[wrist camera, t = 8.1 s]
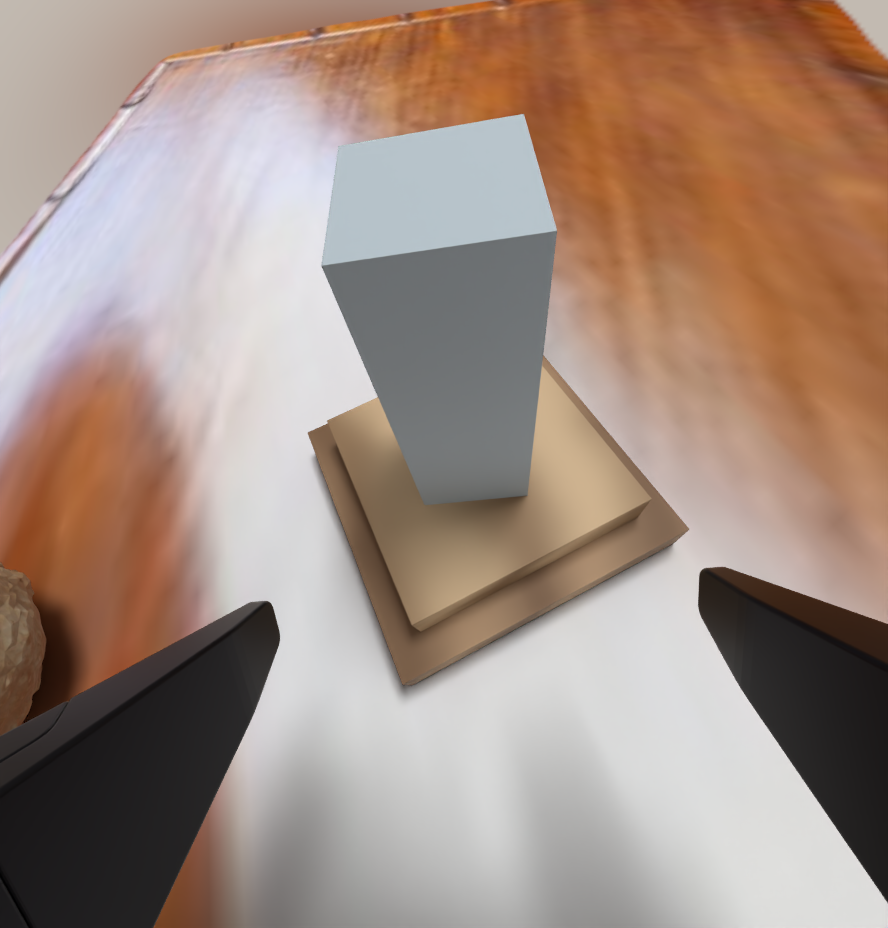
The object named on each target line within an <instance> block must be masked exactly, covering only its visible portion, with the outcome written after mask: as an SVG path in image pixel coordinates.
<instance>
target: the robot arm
mask: <svg viewBox="0 0 888 928" xmlns="http://www.w3.org/2000/svg"><path fill="white" fill-rule="evenodd" d="M698 607H699V612H700V615H701V617H702V619H703V621H704V623H705V625H706V627H707V629H708V630H709V632H710V634H711V636H712V638H713V639H714V641H715V643H716V645H717V647H718V649H719V650H720V652H721V654H722V656H723V658H724V660H725V661H726V663H727V665H728V667H729V669H730V670H731V672H732V674H733V676H734V678H735V679H736V681H737V683H738V684H739V686H740V688H741V689H742V691H743V692H744V694H745V695H746V697H747V699H748V700H749V702H750V703H751V704H752V706H753V707H754V709H755V710H756V712H757V713H758V715H759V716H760V718H761V719H762V720H763V722H764V723H765V725H766V726H767V728H768V729H769V731H770V732H771V734H772V735H773V736H774V738H775V739H776V741H777V742H778V744H779V745H780V747H781V748H782V750H783V751H784V753H785V754H786V755H787V757H788V758H789V760H790V761H791V763H792V764H793V766H794V767H795V769H796V770H797V771H798V773H799V774H800V776H801V777H802V779H803V780H804V782H805V783H806V785H807V786H808V787H809V789H810V790H811V792H812V793H813V795H814V796H815V798H816V799H817V801H818V802H819V803H820V805H821V806H822V808H823V809H824V811H825V812H826V814H827V815H828V817H829V818H830V820H831V821H832V822H833V824H834V825H835V827H836V828H837V830H838V831H839V833H840V834H841V836H842V837H843V838H844V840H845V841H846V843H847V844H848V846H849V847H850V849H851V850H852V852H853V853H854V854H855V856H856V857H857V859H858V860H859V862H860V863H861V865H862V866H863V868H864V869H865V870H866V872H867V873H868V875H869V876H870V878H871V879H872V881H873V882H874V884H875V885H876V887H877V888H878V889H879V891H880V892H881V894H882V895H883V897H884V898H885V900H886V901H887V903H888V624H886V623H883V622H880V621H878V620H875V619H872V618H869V617H866V616H863V615H860V614H858V613H855V612H852V611H849V610H846V609H843V608H840V607H838V606H835V605H832V604H829V603H826V602H823V601H820V600H818V599H815V598H812V597H809V596H806V595H803V594H800V593H798V592H795V591H792V590H789V589H786V588H783V587H780V586H778V585H775V584H772V583H769V582H766V581H763V580H760V579H758V578H755V577H752V576H749V575H746V574H743V573H740V572H738V571H735V570H732V569H729V568H726V567H713V568H704V569H703V570H702V571H701V572H700V576H699V597H698ZM279 642H280V633H279V628H278V625H277V621H276V617H275V613H274V609H273V606H272V604H271V603H270V602H268V601H258V602H250V603H248V604H246V605H244V606H242V607H241V608H239V609H237V610H235V611H233V612H231V613H229V614H227V615H226V616H224V617H222V618H220V619H218V620H216V621H214V622H213V623H211V624H209V625H207V626H205V627H203V628H201V629H200V630H198V631H196V632H194V633H192V634H190V635H188V636H186V637H185V638H183V639H181V640H179V641H177V642H175V643H173V644H172V645H170V646H168V647H166V648H164V649H162V650H160V651H159V652H157V653H155V654H153V655H151V656H149V657H147V658H145V659H144V660H142V661H140V662H138V663H136V664H134V665H132V666H131V667H129V668H127V669H125V670H123V671H121V672H119V673H118V674H116V675H114V676H112V677H110V678H108V679H106V680H104V681H103V682H101V683H99V684H97V685H95V686H93V687H91V688H90V689H88V690H86V691H84V692H82V693H80V694H78V695H77V696H75V697H73V698H71V699H70V701H69V702H68V701H66V702H63V703H61V704H60V705H58V706H56V707H54V708H52V709H50V710H48V711H47V712H45V713H43V714H41V715H39V716H37V717H35V718H33V719H31V720H29V721H28V722H26V723H24V724H22V725H20V726H18V727H16V728H14V729H12V730H10V731H9V732H7V733H5V734H3V735H1V736H0V928H153V927H154V925H155V923H156V921H157V919H158V916H159V914H160V912H161V910H162V908H163V906H164V904H165V902H166V899H167V897H168V895H169V893H170V891H171V889H172V887H173V885H174V882H175V880H176V878H177V876H178V874H179V872H180V870H181V868H182V865H183V863H184V861H185V859H186V857H187V855H188V853H189V851H190V849H191V846H192V844H193V842H194V840H195V838H196V836H197V834H198V832H199V829H200V827H201V825H202V823H203V821H204V819H205V817H206V815H207V812H208V810H209V808H210V806H211V804H212V802H213V800H214V798H215V795H216V793H217V791H218V789H219V787H220V785H221V783H222V781H223V778H224V776H225V774H226V772H227V770H228V768H229V766H230V764H231V762H232V759H233V757H234V755H235V753H236V751H237V749H238V747H239V745H240V742H241V740H242V738H243V736H244V734H245V732H246V730H247V728H248V725H249V723H250V721H251V719H252V716H253V714H254V712H255V709H256V707H257V704H258V702H259V699H260V696H261V694H262V691H263V688H264V685H265V682H266V680H267V677H268V674H269V671H270V668H271V666H272V663H273V660H274V657H275V654H276V652H277V649H278V646H279Z"/></svg>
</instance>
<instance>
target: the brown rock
mask: <svg viewBox="0 0 888 928" xmlns="http://www.w3.org/2000/svg"><path fill="white" fill-rule="evenodd" d="M33 594H34V592H33V590H32V587H31V582H30V580H29V579H28V578H27V577H26V575H25V574H24V573H21V572H18V571H16V570H10V569H4V567H3V565H2V563H0V736H1V735H3V734H5V733H7V732H9V731H10V730H12V729H14V728H16V727H18V726H20V725H21V724H22V723H23V721H24V719H25V718H26V716H27V714H28V713H29V710H30V708H31V705H32V695H33V694H34V693H35V692H36V691H37V690H39V687H40V683H41V672H42V661H43V659H44V654H45V647H46V637H45V634H44V631H43V628H42V625H41V619H40V613H39V611H38V608H37V607H36V606H35V605H34V603H33V600H32V596H33Z"/></svg>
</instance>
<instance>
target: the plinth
mask: <svg viewBox="0 0 888 928" xmlns="http://www.w3.org/2000/svg"><path fill="white" fill-rule="evenodd" d="M327 422H328V424H326V425H323V426H321V427H319V428H317V429H315V430H313V431H310V432H308V435H309V438H310V440H311V443H312V446H313V448H314V451H315V454H316V456H317V459H318V462H319V464H320V467H321V470H322V472H323V475H324V477H325V480H326V483H327V485H328V488H329V491H330V493H331V496H332V499H333V501H334V504H335V507H336V509H337V512H338V515H339V517H340V520H341V523H342V525H343V528H344V531H345V533H346V536H347V539H348V541H349V544H350V547H351V549H352V552H353V554H354V557H355V560H356V562H357V565H358V568H359V570H360V573H361V576H362V578H363V581H364V584H365V586H366V589H367V592H368V594H369V597H370V600H371V602H372V605H373V608H374V610H375V613H376V616H377V618H378V621H379V624H380V626H381V629H382V631H383V634H384V637H385V639H386V642H387V645H388V647H389V650H390V653H391V655H392V658H393V661H394V663H395V666H396V669H397V671H398V674H399V677H400V679H401V682H402V685H414V684H416V683H417V682H419V681H421V680H423V679H425V678H427V677H429V676H430V675H432V674H434V673H436V672H438V671H440V670H441V669H443V668H445V667H447V666H449V665H451V664H452V663H454V662H456V661H458V660H460V659H462V658H464V657H465V656H467V655H469V654H471V653H473V652H475V651H476V650H478V649H480V648H482V647H484V646H486V645H487V644H489V643H491V642H493V641H495V640H497V639H498V638H500V637H502V636H504V635H506V634H508V633H510V632H511V631H513V630H515V629H517V628H519V627H521V626H522V625H524V624H526V623H528V622H530V621H532V620H533V619H535V618H537V617H539V616H541V615H543V614H545V613H546V612H548V611H550V610H552V609H554V608H556V607H557V606H559V605H561V604H563V603H565V602H567V601H568V600H570V599H572V598H574V597H576V596H578V595H579V594H581V593H583V592H585V591H587V590H589V589H591V588H592V587H594V586H596V585H598V584H600V583H602V582H603V581H605V580H607V579H609V578H611V577H613V576H614V575H616V574H618V573H620V572H622V571H624V570H626V569H627V568H629V567H631V566H633V565H635V564H637V563H638V562H640V561H642V560H644V559H646V558H648V557H649V556H651V555H653V554H655V553H657V552H659V551H661V550H662V549H664V548H666V547H668V546H670V545H672V544H673V543H675V542H676V541H677V540H678V539H679V538H680V537H681V536H682V535H684V534H685V533H686V532H687V531H688V530H689V528H688V527H687V526H686V525H685V523H684V522H683V521H682V520H681V519H680V518H679V516H678V515H677V514H676V513H675V512H674V510H673V509H672V508H671V507H670V506H669V504H668V503H667V502H666V501H665V500H664V498H663V497H662V496H661V495H660V494H659V493H658V491H657V490H656V489H655V488H654V487H653V485H652V484H651V483H650V482H649V481H648V479H647V478H646V477H645V476H644V475H643V473H642V472H641V471H640V470H639V469H638V468H637V466H636V465H635V464H634V463H633V462H632V460H631V459H630V458H629V457H628V456H627V454H626V453H625V452H624V451H623V450H622V448H621V447H620V446H619V445H618V444H617V443H616V441H615V440H614V439H613V438H612V437H611V435H610V434H609V433H608V432H607V431H606V429H605V428H604V427H603V426H602V425H601V423H600V422H599V421H598V420H597V419H596V417H595V416H594V415H593V414H592V413H591V412H590V410H589V409H588V408H587V407H586V406H585V404H584V403H583V402H582V401H581V400H580V398H579V397H578V396H577V395H576V394H575V392H574V391H573V390H572V389H571V388H570V387H569V385H568V384H567V383H566V382H565V381H564V379H563V378H562V377H561V376H560V375H559V373H558V372H557V371H556V370H555V369H554V367H553V366H552V365H551V364H550V363H549V362H548V360H547V359H546V358H545V357H544V356H543V361H542V370H541V379H540V388H539V397H538V406H537V415H536V424H535V433H534V442H533V451H532V460H531V469H530V478H529V487H528V496H518V497H507V498H497V499H486V500H475V501H465V502H454V503H443V504H433V505H424V503H423V500H422V498H421V496H420V493H419V491H418V489H417V486H416V484H415V482H414V479H413V477H412V475H411V472H410V470H409V468H408V466H407V463H406V461H405V459H404V456H403V454H402V452H401V449H400V447H399V445H398V442H397V440H396V438H395V435H394V433H393V431H392V428H391V426H390V424H389V421H388V419H387V417H386V414H385V412H384V410H383V407H382V405H381V403H380V400H379V398H375V399H373V400H371V401H369V402H367V403H365V404H362V405H360V406H358V407H356V408H354V409H351V410H349V411H347V412H345V413H343V414H341V415H338V416H336V417H334V418H332V419H330V420H328V421H327Z"/></svg>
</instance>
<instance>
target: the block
mask: <svg viewBox="0 0 888 928" xmlns="http://www.w3.org/2000/svg"><path fill="white" fill-rule="evenodd" d="M556 235H557V229H556V226H555V222H554V219H553V215H552V212H551V208H550V205H549V201H548V198H547V194H546V191H545V187H544V184H543V180H542V177H541V173H540V170H539V166H538V163H537V159H536V156H535V152H534V149H533V145H532V142H531V138H530V135H529V131H528V127H527V124H526V120H525V117H524V114H521V115H515V116H509V117H504V118H498V119H492V120H486V121H481V122H475V123H469V124H463V125H457V126H452V127H446V128H440V129H434V130H429V131H423V132H417V133H411V134H406V135H400V136H394V137H388V138H383V139H377V140H371V141H365V142H359V143H354V144H348V145H342V146H339V147H338V154H337V161H336V168H335V175H334V182H333V189H332V196H331V203H330V210H329V217H328V224H327V230H326V237H325V244H324V251H323V258H322V265H321V266H322V268H323V270H324V273H325V275H326V277H327V280H328V282H329V284H330V287H331V289H332V291H333V294H334V296H335V298H336V301H337V303H338V305H339V308H340V310H341V312H342V314H343V317H344V319H345V321H346V324H347V326H348V328H349V331H350V333H351V335H352V338H353V340H354V342H355V345H356V347H357V349H358V352H359V354H360V356H361V359H362V361H363V363H364V366H365V368H366V370H367V373H368V375H369V377H370V380H371V382H372V384H373V387H374V389H375V391H376V393H377V396H378V398H379V400H380V403H381V405H382V407H383V410H384V412H385V414H386V417H387V419H388V421H389V424H390V426H391V428H392V431H393V433H394V435H395V438H396V440H397V442H398V445H399V447H400V449H401V452H402V454H403V456H404V459H405V461H406V463H407V466H408V468H409V470H410V472H411V475H412V477H413V479H414V482H415V484H416V486H417V489H418V491H419V493H420V496H421V498H422V500H423V503H424V505H433V504H443V503H454V502H465V501H475V500H486V499H497V498H507V497H518V496H528V487H529V478H530V469H531V460H532V451H533V442H534V433H535V424H536V415H537V406H538V397H539V388H540V379H541V370H542V361H543V352H544V343H545V334H546V325H547V316H548V307H549V298H550V289H551V280H552V271H553V262H554V253H555V244H556Z"/></svg>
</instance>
